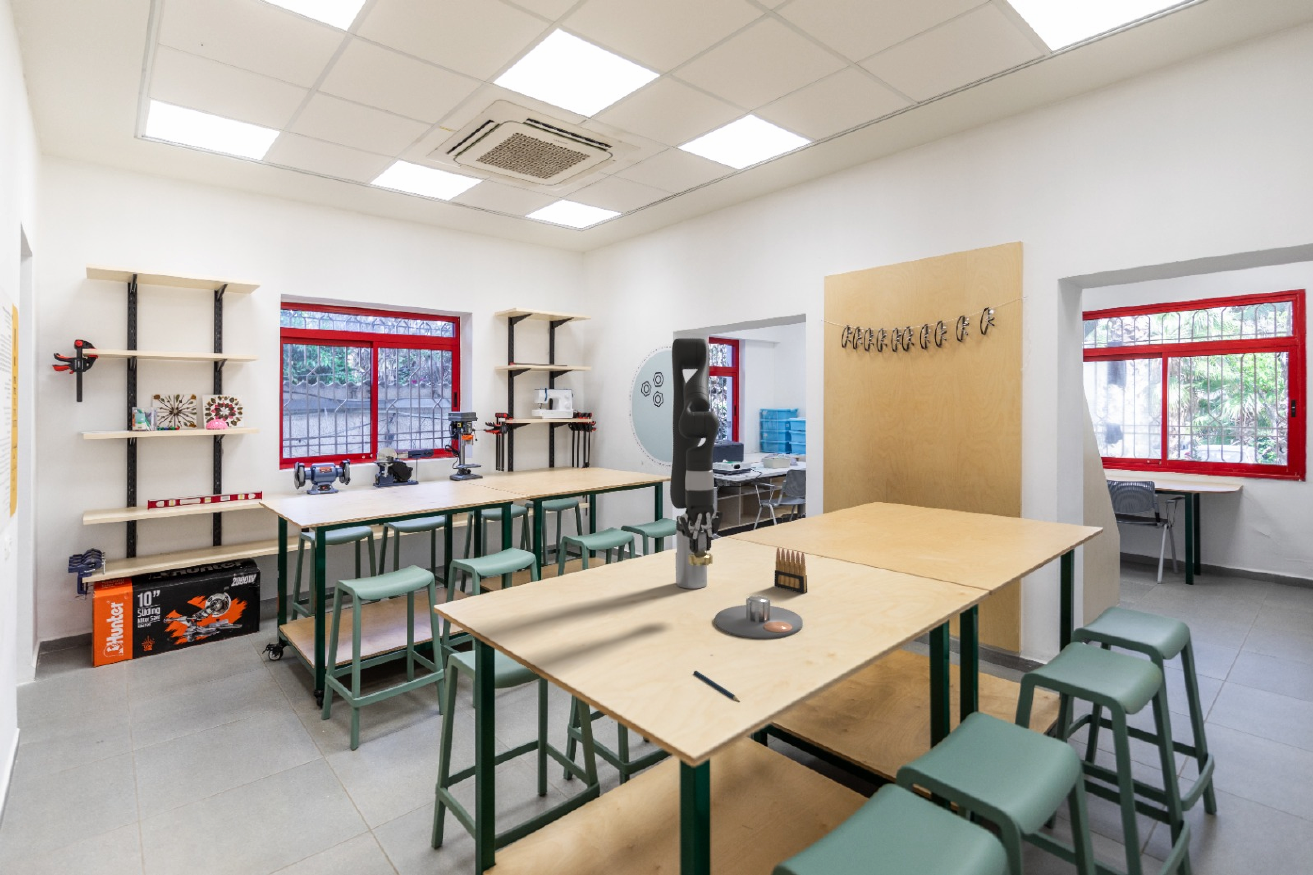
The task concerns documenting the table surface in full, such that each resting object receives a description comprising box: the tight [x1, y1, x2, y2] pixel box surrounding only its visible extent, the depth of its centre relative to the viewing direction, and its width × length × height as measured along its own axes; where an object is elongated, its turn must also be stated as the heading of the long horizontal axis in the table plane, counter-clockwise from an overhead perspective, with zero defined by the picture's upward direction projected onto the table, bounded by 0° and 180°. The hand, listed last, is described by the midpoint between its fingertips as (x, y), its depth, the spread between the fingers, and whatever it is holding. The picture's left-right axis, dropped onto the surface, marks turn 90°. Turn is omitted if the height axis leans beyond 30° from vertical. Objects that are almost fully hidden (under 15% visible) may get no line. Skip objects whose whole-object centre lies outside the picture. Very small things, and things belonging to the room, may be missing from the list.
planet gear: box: [688, 532, 714, 567], centre depth 169 cm, size 6×6×8 cm
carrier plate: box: [714, 595, 804, 640], centre depth 161 cm, size 22×22×6 cm
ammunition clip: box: [773, 547, 808, 594], centre depth 189 cm, size 11×2×12 cm, turn 43°
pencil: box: [693, 670, 741, 703], centre depth 126 cm, size 1×1×15 cm
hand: (700, 551), depth 169 cm, fingers closed on planet gear, 3 cm apart
